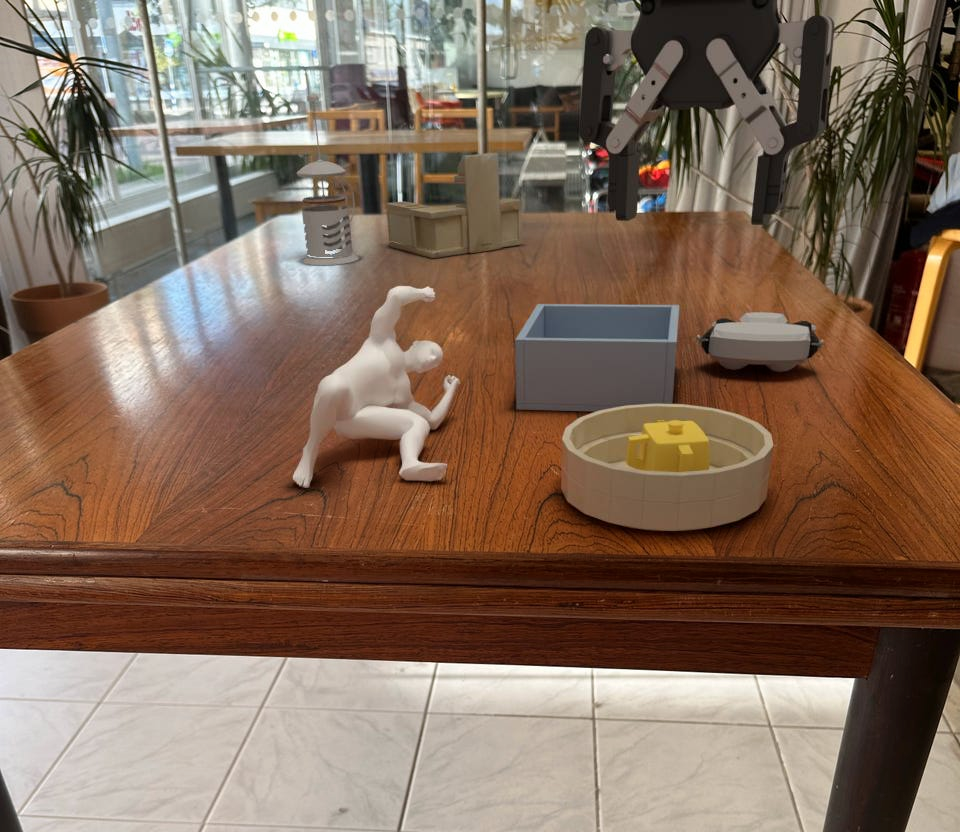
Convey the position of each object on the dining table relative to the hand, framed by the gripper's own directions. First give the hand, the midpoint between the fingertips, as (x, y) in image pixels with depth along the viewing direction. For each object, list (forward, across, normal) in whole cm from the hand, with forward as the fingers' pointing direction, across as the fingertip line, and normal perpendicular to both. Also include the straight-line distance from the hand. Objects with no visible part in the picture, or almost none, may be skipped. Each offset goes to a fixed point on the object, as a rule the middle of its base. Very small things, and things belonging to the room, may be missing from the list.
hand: (690, 221), depth 59 cm
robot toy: (+20, +3, -41) cm, 46 cm away
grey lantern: (+20, +85, -80) cm, 118 cm away
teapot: (+19, +2, -3) cm, 20 cm away
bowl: (+20, +2, -3) cm, 20 cm away
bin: (+20, +15, -26) cm, 36 cm away
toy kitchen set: (+20, +70, -97) cm, 121 cm away
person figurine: (+20, +26, -3) cm, 33 cm away
